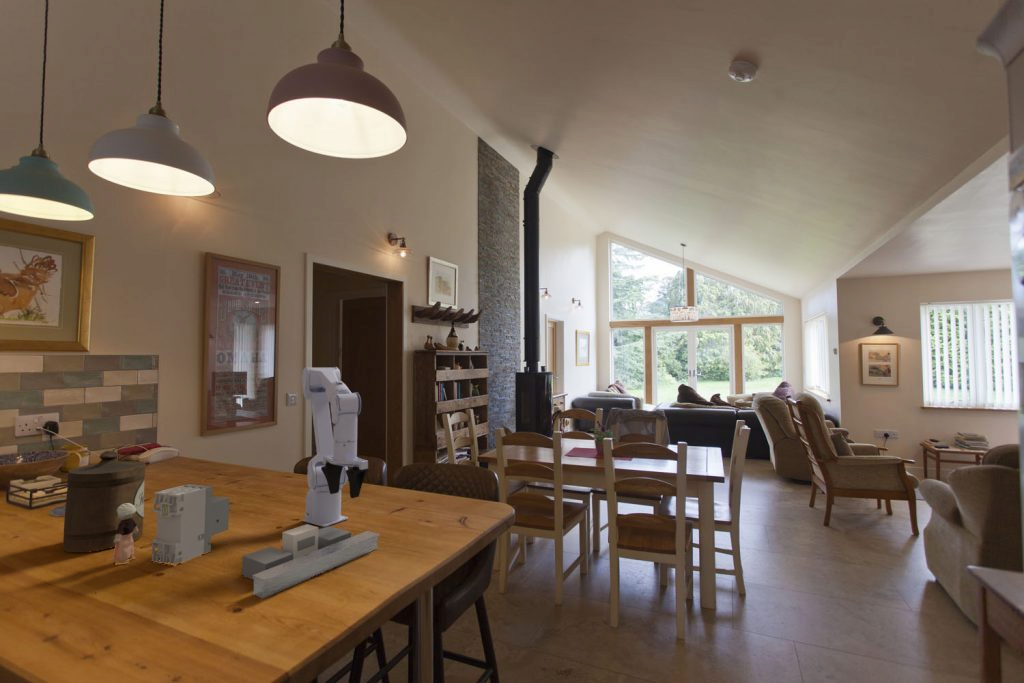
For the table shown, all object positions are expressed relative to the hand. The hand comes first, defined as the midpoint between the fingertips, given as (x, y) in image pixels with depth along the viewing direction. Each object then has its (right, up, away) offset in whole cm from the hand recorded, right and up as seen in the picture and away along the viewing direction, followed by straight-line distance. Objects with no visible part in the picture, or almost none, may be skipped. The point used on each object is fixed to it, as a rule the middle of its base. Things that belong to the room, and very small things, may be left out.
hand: (344, 495), depth 119 cm
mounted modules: (-4, -10, -15) cm, 19 cm away
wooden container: (-58, -11, -3) cm, 59 cm away
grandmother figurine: (-43, -10, -16) cm, 47 cm away
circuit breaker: (-31, -10, -10) cm, 34 cm away
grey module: (-4, -10, -15) cm, 19 cm away
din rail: (+2, -9, -19) cm, 21 cm away
